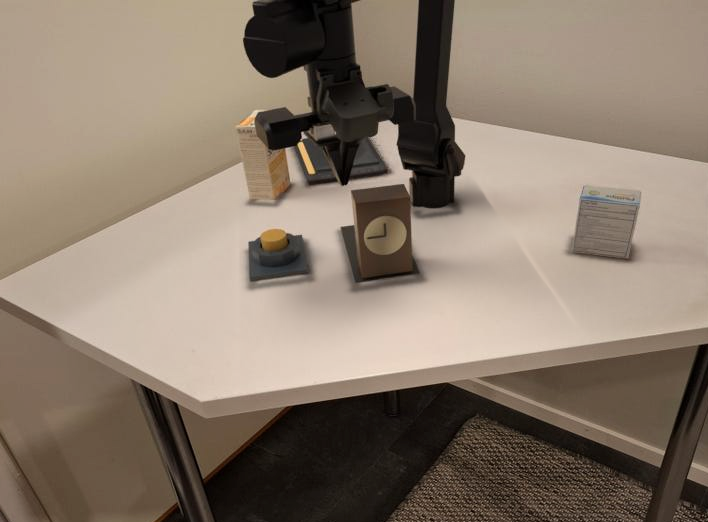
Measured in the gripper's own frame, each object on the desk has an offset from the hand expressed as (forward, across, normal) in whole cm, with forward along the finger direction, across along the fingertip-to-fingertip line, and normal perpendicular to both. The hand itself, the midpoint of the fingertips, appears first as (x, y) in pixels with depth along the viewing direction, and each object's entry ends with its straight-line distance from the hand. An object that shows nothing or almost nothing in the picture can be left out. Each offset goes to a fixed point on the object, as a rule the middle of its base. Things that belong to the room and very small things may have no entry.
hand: (343, 184), depth 81 cm
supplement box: (+13, -3, +30) cm, 33 cm away
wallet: (+13, +13, +38) cm, 43 cm away
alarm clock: (+6, +4, -1) cm, 8 cm away
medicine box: (+13, +34, -12) cm, 38 cm away
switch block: (+13, -9, +7) cm, 17 cm away
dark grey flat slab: (+13, +5, +2) cm, 14 cm away
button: (+10, -9, +7) cm, 15 cm away
